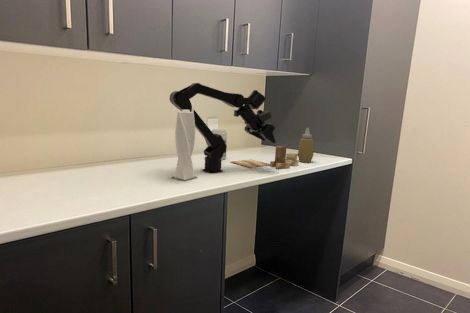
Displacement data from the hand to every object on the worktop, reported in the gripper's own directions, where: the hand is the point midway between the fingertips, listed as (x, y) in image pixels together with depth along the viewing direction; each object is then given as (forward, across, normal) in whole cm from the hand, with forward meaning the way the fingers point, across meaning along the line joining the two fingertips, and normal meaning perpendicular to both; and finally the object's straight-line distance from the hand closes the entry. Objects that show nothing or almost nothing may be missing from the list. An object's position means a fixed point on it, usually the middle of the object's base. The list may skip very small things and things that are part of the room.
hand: (269, 141), depth 153 cm
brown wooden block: (+14, 0, +4) cm, 14 cm away
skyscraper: (-21, -9, +39) cm, 46 cm away
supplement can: (-1, +26, +19) cm, 33 cm away
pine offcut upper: (+18, +3, -4) cm, 19 cm away
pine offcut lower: (+20, +3, -2) cm, 20 cm away
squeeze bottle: (+29, +9, -11) cm, 32 cm away
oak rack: (+14, 0, +4) cm, 14 cm away
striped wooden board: (+6, +11, +11) cm, 17 cm away
